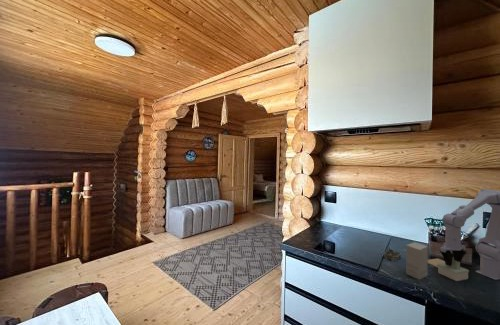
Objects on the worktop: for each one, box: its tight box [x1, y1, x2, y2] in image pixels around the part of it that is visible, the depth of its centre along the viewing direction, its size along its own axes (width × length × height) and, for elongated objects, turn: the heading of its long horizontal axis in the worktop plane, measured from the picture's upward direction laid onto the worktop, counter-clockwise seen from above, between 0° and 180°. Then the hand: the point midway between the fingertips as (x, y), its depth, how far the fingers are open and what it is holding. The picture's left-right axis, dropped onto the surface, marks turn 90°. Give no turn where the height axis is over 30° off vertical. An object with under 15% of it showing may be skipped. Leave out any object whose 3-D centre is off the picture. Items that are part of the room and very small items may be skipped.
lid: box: [437, 258, 470, 274], centre depth 107 cm, size 9×9×5 cm
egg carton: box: [382, 247, 402, 262], centre depth 128 cm, size 11×8×4 cm
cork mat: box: [428, 257, 445, 269], centre depth 119 cm, size 11×11×1 cm
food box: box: [437, 267, 469, 282], centre depth 108 cm, size 8×8×4 cm
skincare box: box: [405, 241, 429, 280], centre depth 108 cm, size 8×7×16 cm
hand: (452, 264), depth 107 cm, fingers open, 6 cm apart
